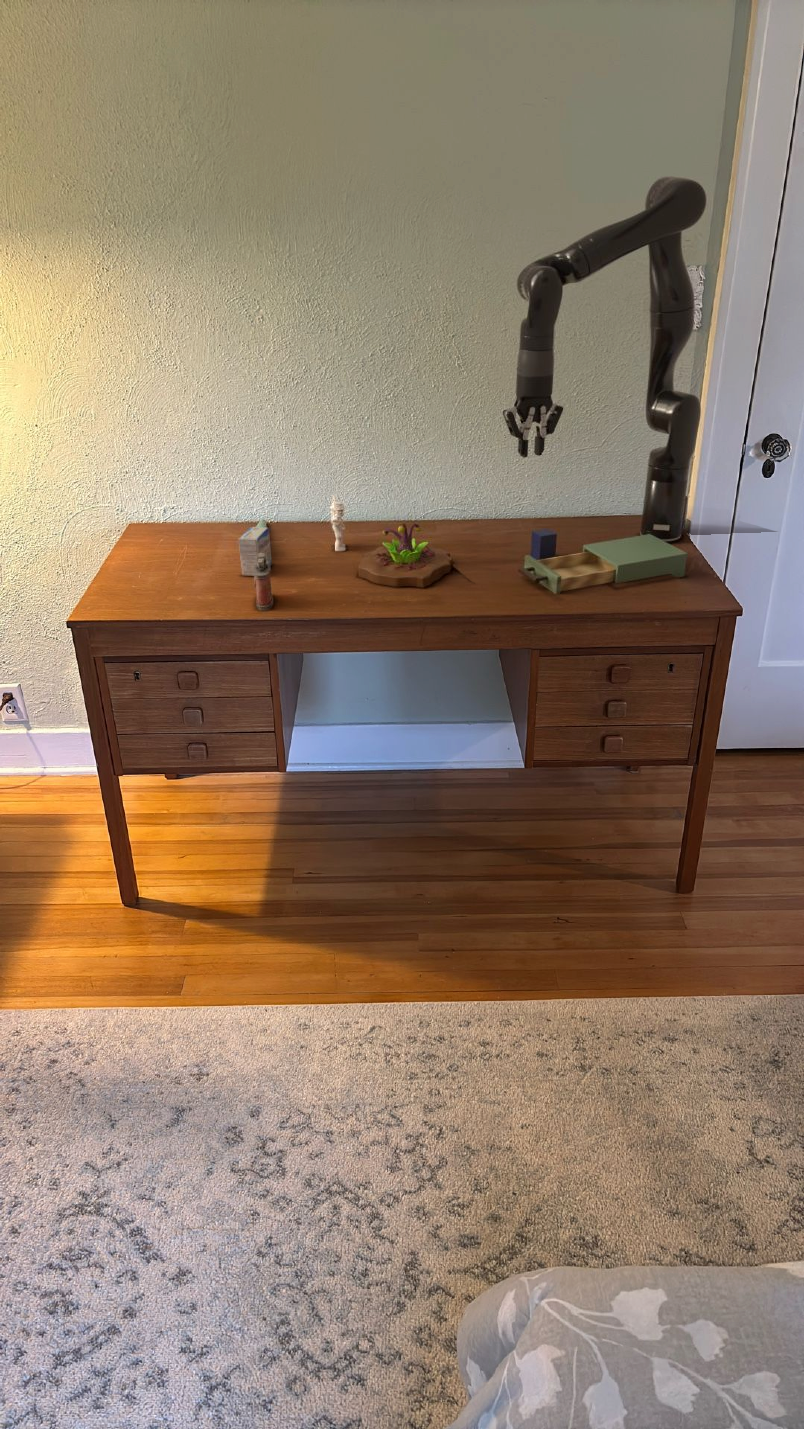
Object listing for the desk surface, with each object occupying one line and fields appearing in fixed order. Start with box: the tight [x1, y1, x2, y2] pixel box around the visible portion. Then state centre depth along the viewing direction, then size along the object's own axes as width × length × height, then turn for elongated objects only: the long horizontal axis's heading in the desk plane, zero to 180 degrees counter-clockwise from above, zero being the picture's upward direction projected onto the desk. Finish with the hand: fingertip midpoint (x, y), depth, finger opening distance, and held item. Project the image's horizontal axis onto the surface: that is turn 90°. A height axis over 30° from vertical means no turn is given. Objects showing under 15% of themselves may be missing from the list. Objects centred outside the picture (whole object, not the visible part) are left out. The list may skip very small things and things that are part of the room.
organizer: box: [582, 534, 688, 584], centre depth 211 cm, size 17×14×5 cm
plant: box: [357, 523, 453, 589], centre depth 212 cm, size 20×20×11 cm
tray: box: [517, 551, 616, 595], centre depth 206 cm, size 21×14×4 cm, turn 112°
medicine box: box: [238, 526, 273, 577], centre depth 214 cm, size 8×4×9 cm, turn 168°
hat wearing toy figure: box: [329, 495, 347, 552], centre depth 225 cm, size 9×4×12 cm, turn 1°
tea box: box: [530, 528, 558, 560], centre depth 215 cm, size 4×4×7 cm
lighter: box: [253, 553, 274, 611], centre depth 198 cm, size 8×3×10 cm, turn 5°
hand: (530, 455), depth 209 cm, fingers open, 3 cm apart
